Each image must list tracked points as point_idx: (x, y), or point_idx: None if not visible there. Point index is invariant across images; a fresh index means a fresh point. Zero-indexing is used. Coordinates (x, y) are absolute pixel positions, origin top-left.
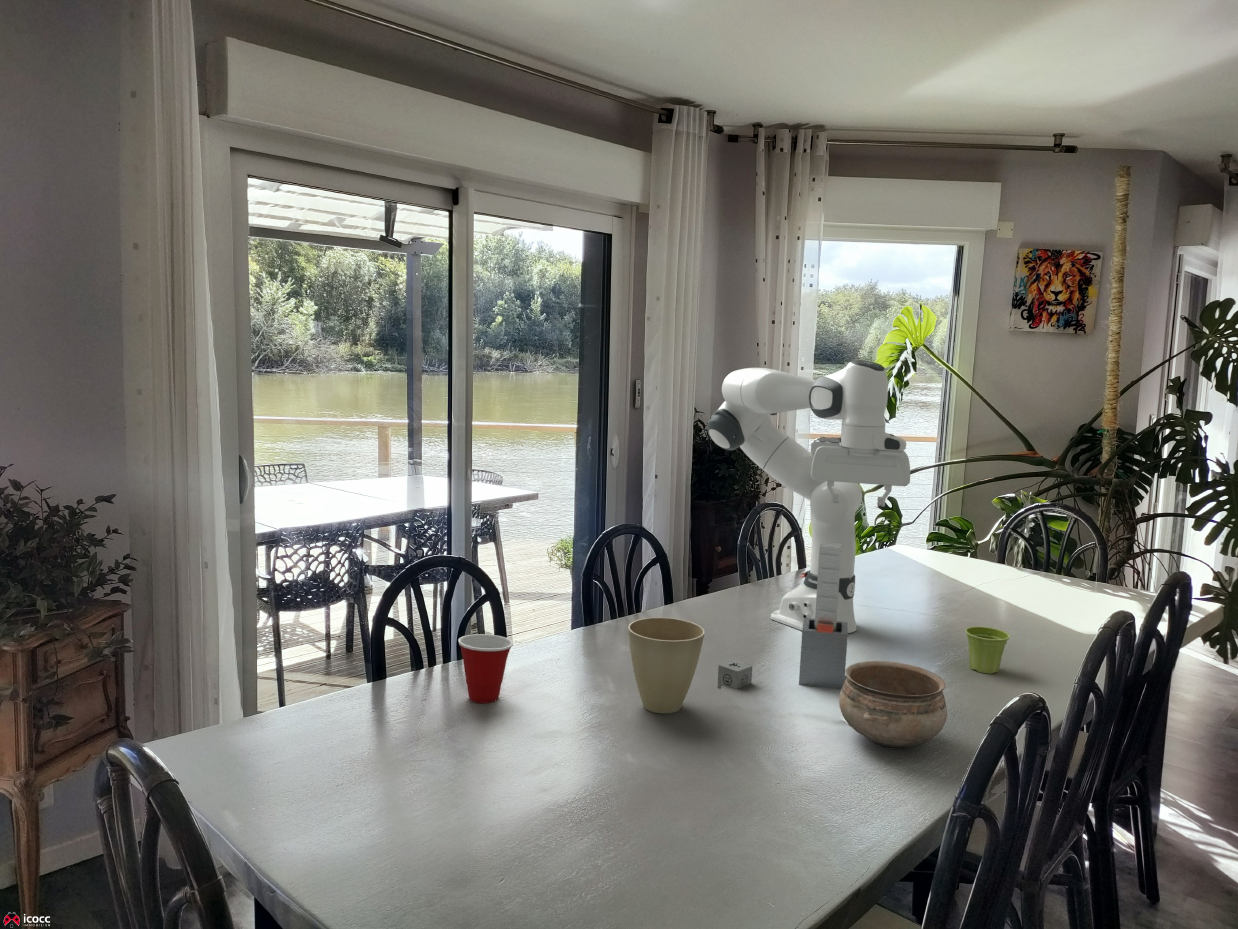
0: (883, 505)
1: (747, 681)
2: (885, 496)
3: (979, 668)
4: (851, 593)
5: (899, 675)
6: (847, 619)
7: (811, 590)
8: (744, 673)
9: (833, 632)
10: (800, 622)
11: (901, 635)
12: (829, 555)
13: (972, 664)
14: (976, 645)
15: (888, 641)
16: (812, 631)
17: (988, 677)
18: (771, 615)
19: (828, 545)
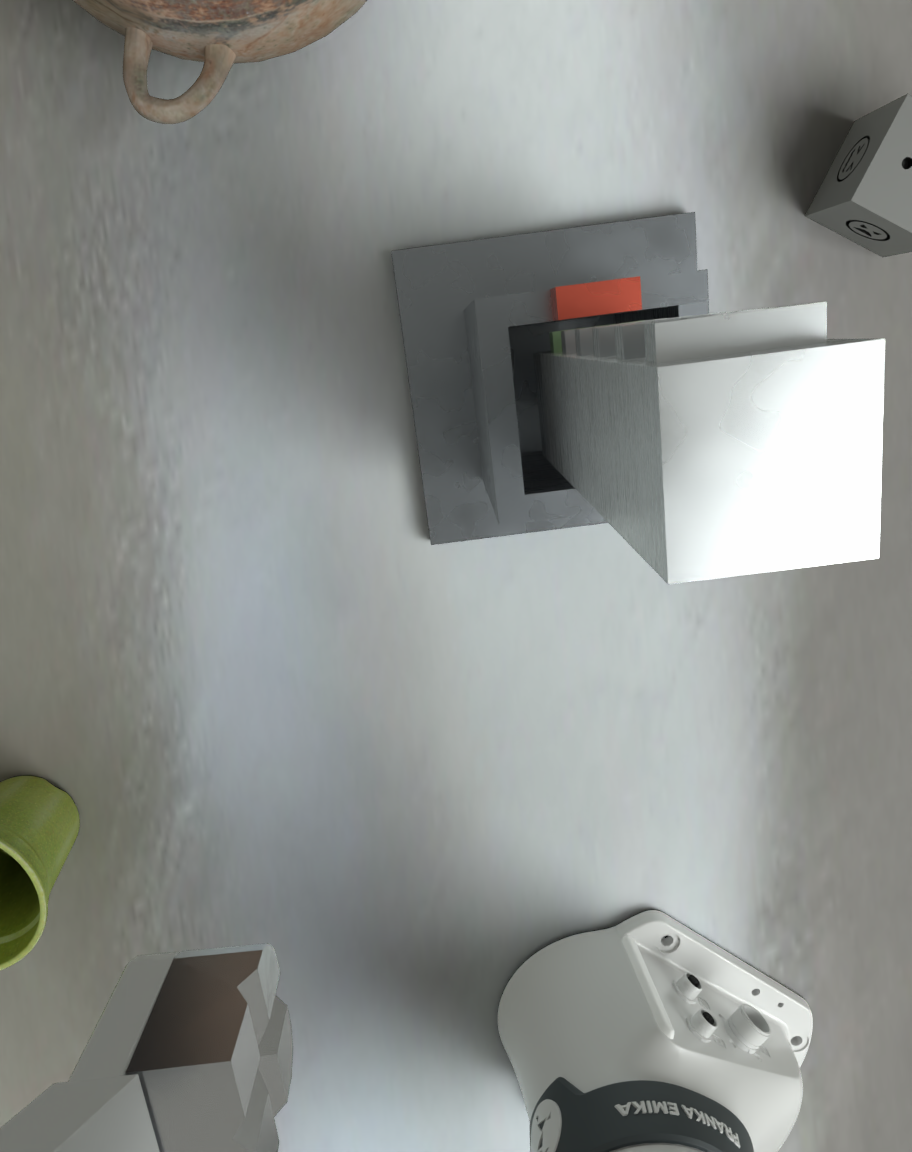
0: (155, 954)
1: (836, 182)
2: (43, 1119)
3: (36, 783)
4: (539, 1119)
5: (185, 4)
6: (533, 1012)
7: (708, 1091)
8: (869, 149)
9: (548, 304)
10: (699, 978)
11: (342, 1031)
12: (744, 313)
13: (59, 800)
14: (9, 827)
15: (377, 952)
16: (653, 276)
17: (7, 742)
18: (810, 1012)
19: (794, 425)
